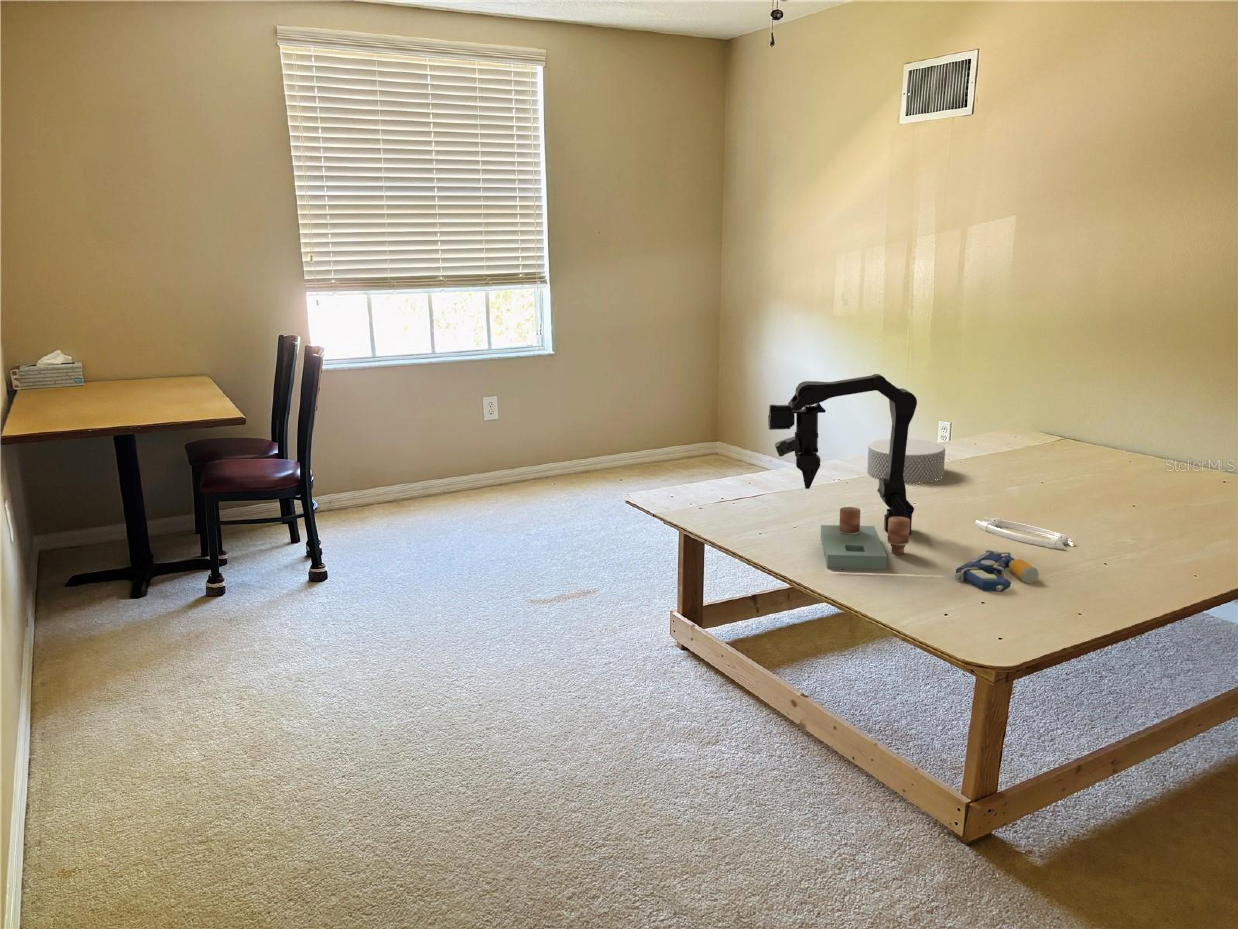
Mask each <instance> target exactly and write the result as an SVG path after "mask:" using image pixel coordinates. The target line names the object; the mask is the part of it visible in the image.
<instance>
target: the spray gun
mask: <svg viewBox="0 0 1238 929" xmlns="http://www.w3.org/2000/svg"><path fill="white" fill-rule="evenodd" d="M1011 555H1012V554H1011V553H1010V551H1002V552H1000V551H995V550H991V549H987V550H985V553H983V554H981V555H979V556H977V557H974V558H973V559H971V560H970V561H969V562H966V563H964V564H962V565H961V566H959V567H957V568H956V569H955V574H954V578H955V579H956V580H959V579H960V582H961V583H968V584H969V585H972V586H973V587H974V588H977V589H978V590H980V591H982V592H993V593H1003V592H1005V591H1007V590H1008V589H1009V588H1011V585H1012V580H1011V579H1008V578H1005V573H1006V569H1007V568H1008V571H1009V573H1010V574H1011V575H1012V576H1014V577H1015V578H1017V579H1018V580H1020V581H1021V582H1023V583H1024V584H1034V583H1035V582H1036V581H1037V580H1038V578H1039V571H1038V569H1037V568H1036V567H1034V566H1033V565H1031V564H1029V563H1028V562H1027V561H1025V560H1023V559H1021V558H1018V559H1015V557H1014V558H1013V557H1012V556H1011Z"/></svg>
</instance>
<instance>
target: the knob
mask: <svg viewBox="0 0 1238 929" xmlns="http://www.w3.org/2000/svg"><path fill="white" fill-rule="evenodd" d="M890 439H891V438H885V439H878V440H875V441H872V442H870V443H869V444H868V446H867V447H868V449H867V451H868V452H867V470H866V471H867V475H868V476H869V477H871V478H873V479H876V480H879V478H884V477H885V475H886V473H887V467H888V458H889V448H890ZM945 459H946V448H945V446H944V445H942V444H941V443H937V442H935V441H930V440H925V439H919V438H918V439H917V438H907V446H906V455H905V464H904V473H903V477H904V482H905V483H907V484H909V483H911V484H913V483H915V484H917V483H919V482H920V483H919V484H927V483H928V482H930V481H933V482H934V481H935V479H936V480H937V479H940V480H942V479H941V477H943V478H944V476H943V475H945V474H944V473H945ZM923 482H924V483H923ZM926 482H927V483H926ZM935 482H936V481H935ZM930 483H931V482H930Z"/></svg>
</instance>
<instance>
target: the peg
mask: <svg viewBox="0 0 1238 929" xmlns="http://www.w3.org/2000/svg"><path fill="white" fill-rule="evenodd" d="M909 531H910V519H908V518H905V517H890V518H889V521H888V533H887V538H886V541H887V543H888V544H889V545H890V546H891V552H890V553H891V555H894V556H903V555H904V553H905V547H906V546H907V545H909V543H910V535H909Z"/></svg>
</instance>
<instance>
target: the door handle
mask: <svg viewBox="0 0 1238 929" xmlns="http://www.w3.org/2000/svg"><path fill="white" fill-rule="evenodd" d="M974 523H975V526H976V527H977V528H978V529H980V530H981V531H984V532H987V533H989V534H993V535H995V534H996V536H999V537H1002V538H1006V539H1009V540H1012V541H1016V542H1020V543H1025V544H1028V545H1033V546H1039V547H1044V548H1048V549H1051V550H1052V549H1053V550H1062V551H1065V550H1067V549H1066V546H1065V545H1068V546H1070V547H1074V545H1075V542H1074V540H1073V539H1072V538H1071V537H1070V536H1068V534H1064V533H1058V532H1055V531H1052V530H1048V529H1045V528H1042V527H1038V526H1034V525H1029V524H1027V523H1026V524H1024V523H1021V522H1015V521H1011V520H1005V519H1002V518H1001V517H1000V518H999V517H991V518H990V517H985V516H983V521H980V520H978V519H976V520H975V522H974ZM999 526H1001V528H999ZM1006 527H1009V528H1008V529H1011V528H1013V529H1012V530H1018V531H1022V532H1026V533H1030V534H1034V535H1038V536H1041V537H1045V538H1047V539H1045V538H1040V537H1035V536H1030V535H1025V534H1021V533H1017V532H1013V531H1009V530H1006V529H1002V528H1006Z"/></svg>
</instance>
